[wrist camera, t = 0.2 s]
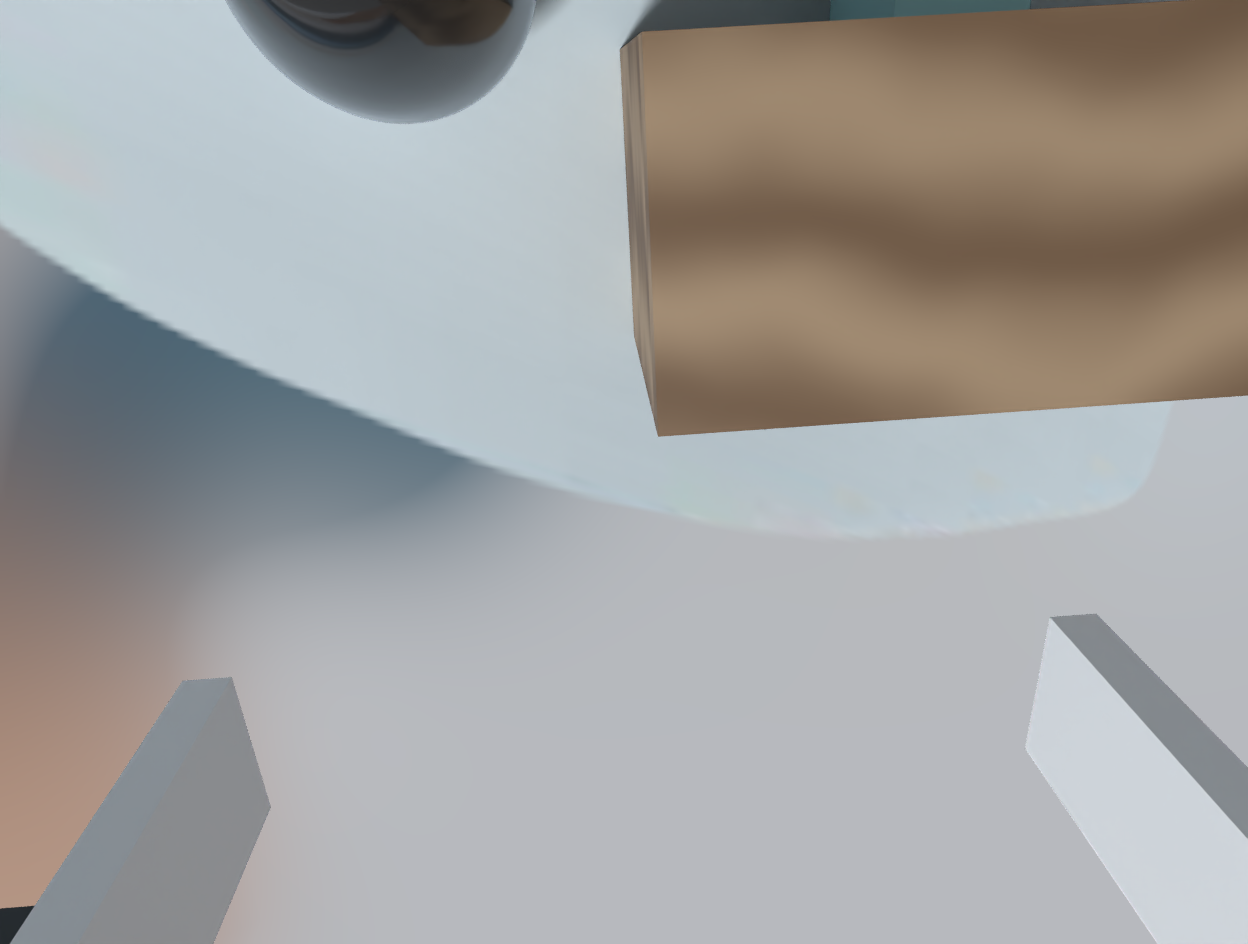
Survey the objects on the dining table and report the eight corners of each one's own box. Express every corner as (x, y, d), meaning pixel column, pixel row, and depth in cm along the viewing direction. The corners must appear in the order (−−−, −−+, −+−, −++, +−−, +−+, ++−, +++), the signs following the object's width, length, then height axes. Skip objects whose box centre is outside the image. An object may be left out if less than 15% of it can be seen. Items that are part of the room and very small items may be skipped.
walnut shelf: (620, 49, 35) (641, 31, 23) (1149, 18, 35) (1422, -14, 24) (634, 336, 40) (657, 436, 28) (1097, 305, 40) (1303, 391, 29)
